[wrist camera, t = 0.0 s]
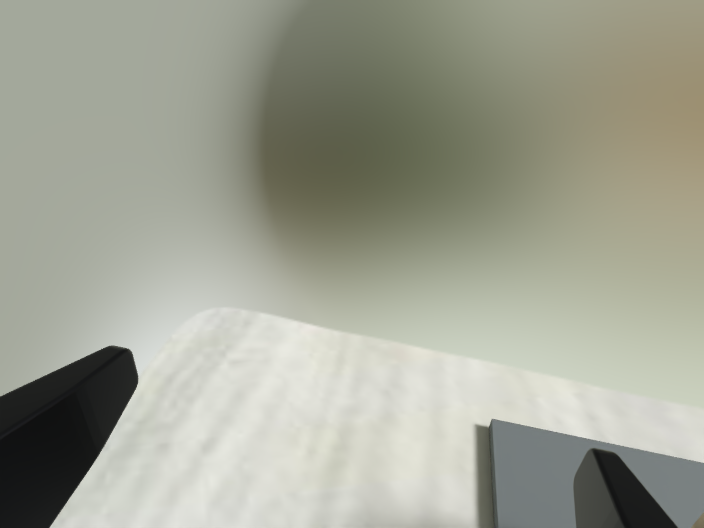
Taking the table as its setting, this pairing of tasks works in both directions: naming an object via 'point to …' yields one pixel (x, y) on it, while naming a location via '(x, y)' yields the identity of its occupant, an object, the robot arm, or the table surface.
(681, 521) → the slate mat
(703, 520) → the beech block
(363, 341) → the table surface
